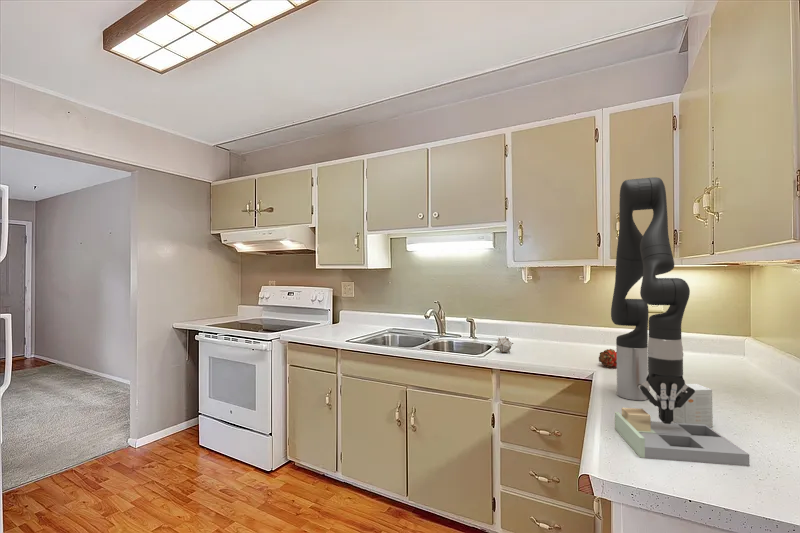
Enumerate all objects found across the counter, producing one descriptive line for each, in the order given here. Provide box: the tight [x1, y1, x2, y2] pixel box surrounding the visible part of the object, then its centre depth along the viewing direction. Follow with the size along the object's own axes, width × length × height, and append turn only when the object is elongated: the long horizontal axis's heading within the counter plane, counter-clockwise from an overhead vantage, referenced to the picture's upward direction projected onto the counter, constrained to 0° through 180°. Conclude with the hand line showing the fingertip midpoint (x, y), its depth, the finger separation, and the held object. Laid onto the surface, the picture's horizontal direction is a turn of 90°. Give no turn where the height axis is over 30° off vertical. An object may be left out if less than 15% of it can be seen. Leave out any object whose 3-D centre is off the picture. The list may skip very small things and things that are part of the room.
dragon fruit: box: [598, 348, 617, 369], centre depth 175 cm, size 8×8×12 cm
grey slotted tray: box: [614, 411, 750, 467], centre depth 98 cm, size 17×22×4 cm
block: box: [621, 407, 652, 432], centre depth 103 cm, size 5×5×4 cm
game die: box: [494, 336, 514, 354], centre depth 206 cm, size 9×8×10 cm
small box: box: [673, 383, 714, 428], centre depth 111 cm, size 8×6×10 cm
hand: (665, 422), depth 102 cm, fingers closed
